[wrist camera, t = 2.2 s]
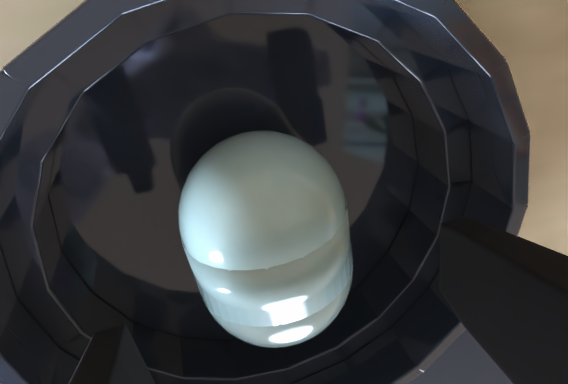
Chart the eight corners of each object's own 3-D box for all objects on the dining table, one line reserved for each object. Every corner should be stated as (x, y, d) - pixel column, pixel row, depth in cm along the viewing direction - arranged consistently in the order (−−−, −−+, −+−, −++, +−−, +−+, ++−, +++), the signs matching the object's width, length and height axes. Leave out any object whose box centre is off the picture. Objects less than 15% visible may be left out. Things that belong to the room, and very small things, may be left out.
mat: (476, 431, 25) (481, 439, 25) (327, 436, 22) (331, 446, 21) (574, 297, 22) (582, 303, 21) (416, 274, 18) (423, 281, 17)
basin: (349, 361, 19) (392, 447, 16) (-20, 346, 14) (-74, 470, 11) (514, 51, 14) (629, 79, 11) (35, -162, 9) (-35, -237, 6)
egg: (328, 257, 16) (385, 350, 12) (209, 295, 15) (230, 406, 11) (304, 92, 13) (370, 148, 9) (153, 130, 12) (155, 209, 8)
